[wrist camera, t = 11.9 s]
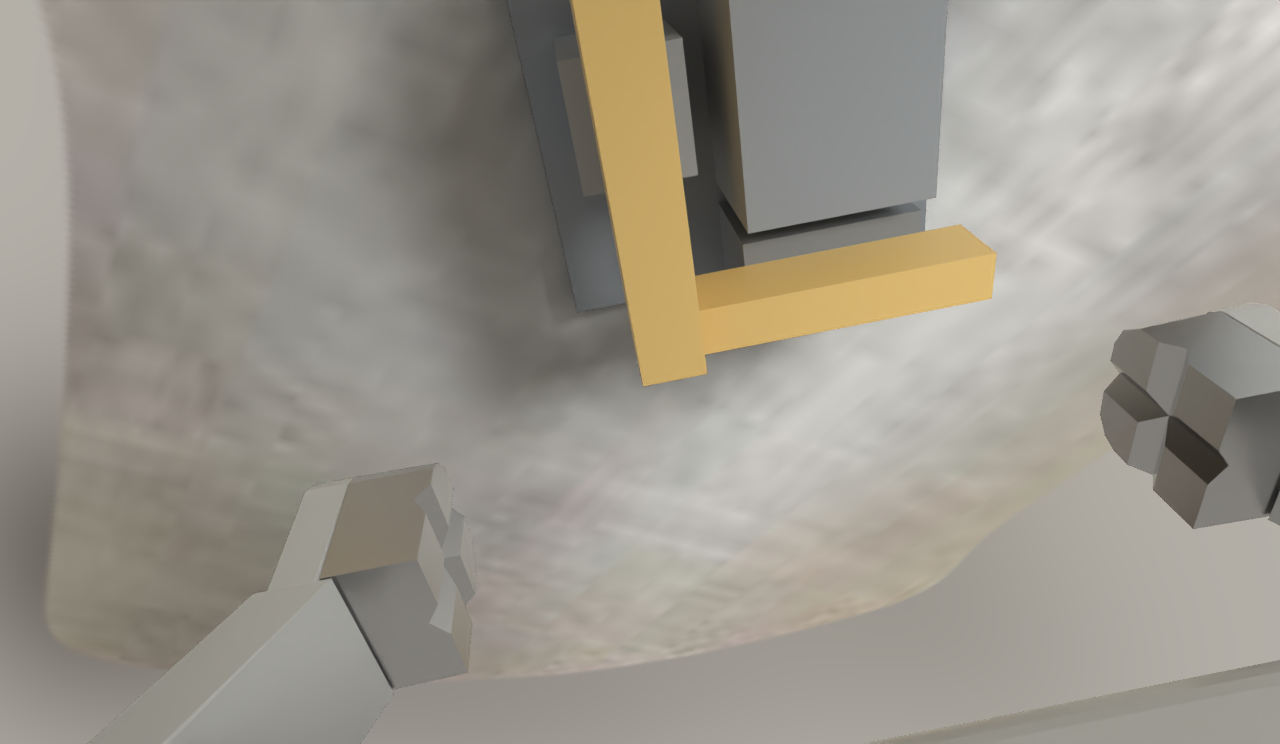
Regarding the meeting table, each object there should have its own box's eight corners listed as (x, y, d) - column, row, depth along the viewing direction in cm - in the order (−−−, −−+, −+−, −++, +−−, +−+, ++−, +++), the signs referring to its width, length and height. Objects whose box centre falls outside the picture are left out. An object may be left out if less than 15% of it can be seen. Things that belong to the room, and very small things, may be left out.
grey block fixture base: (935, -264, 23) (1049, -306, 18) (913, 235, 31) (986, 302, 26) (468, -179, 23) (449, -197, 18) (576, 301, 31) (584, 381, 26)
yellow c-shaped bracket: (996, -242, 19) (1081, -264, 16) (956, 267, 27) (1009, 314, 24) (540, -158, 19) (541, -166, 16) (630, 330, 27) (643, 386, 24)
